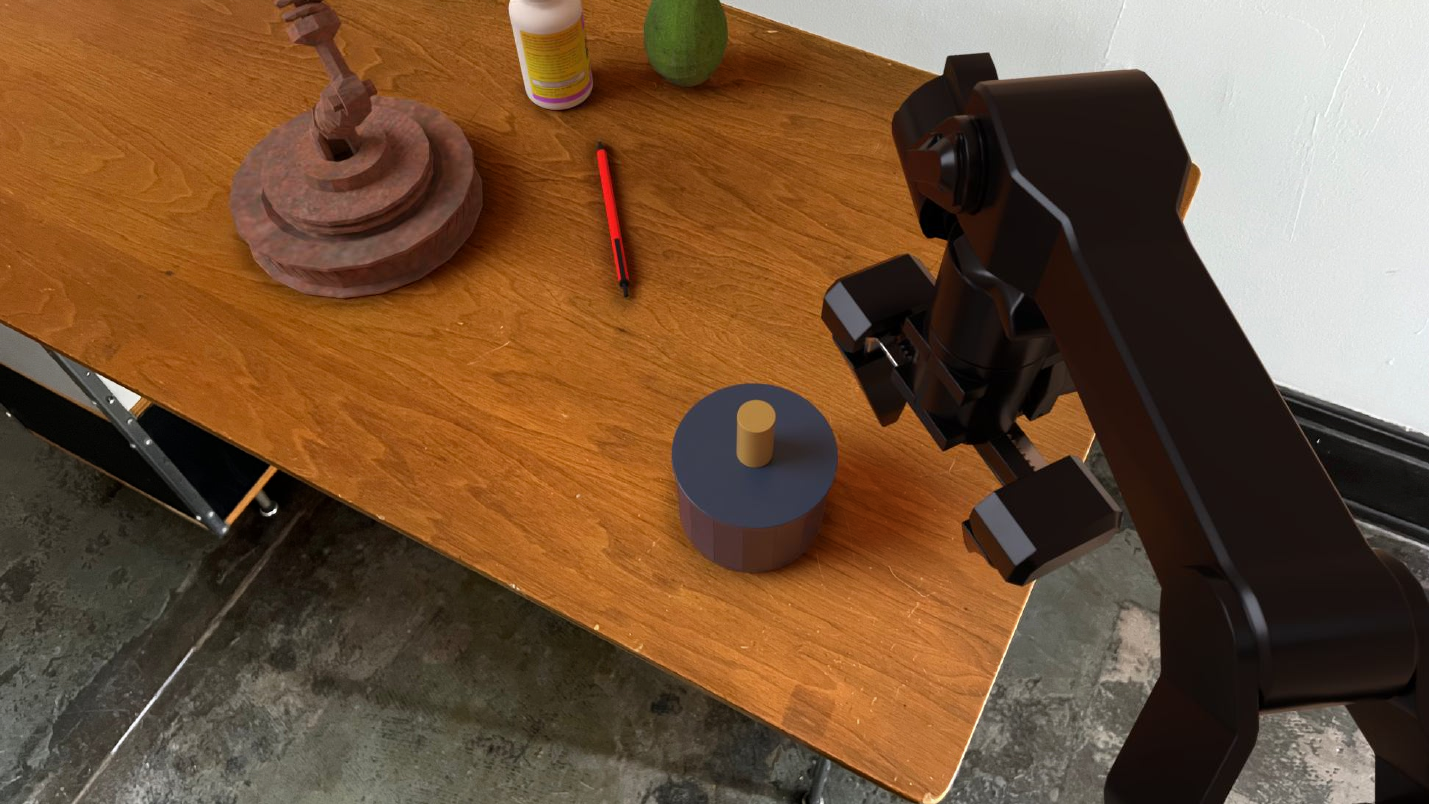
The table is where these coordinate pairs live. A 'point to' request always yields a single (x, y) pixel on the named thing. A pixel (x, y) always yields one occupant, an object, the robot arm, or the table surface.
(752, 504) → the canister lid
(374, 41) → the table surface
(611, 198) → the pen
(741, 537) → the canister
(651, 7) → the fruit
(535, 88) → the supplement bottle
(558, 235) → the table surface
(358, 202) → the desk lamp
